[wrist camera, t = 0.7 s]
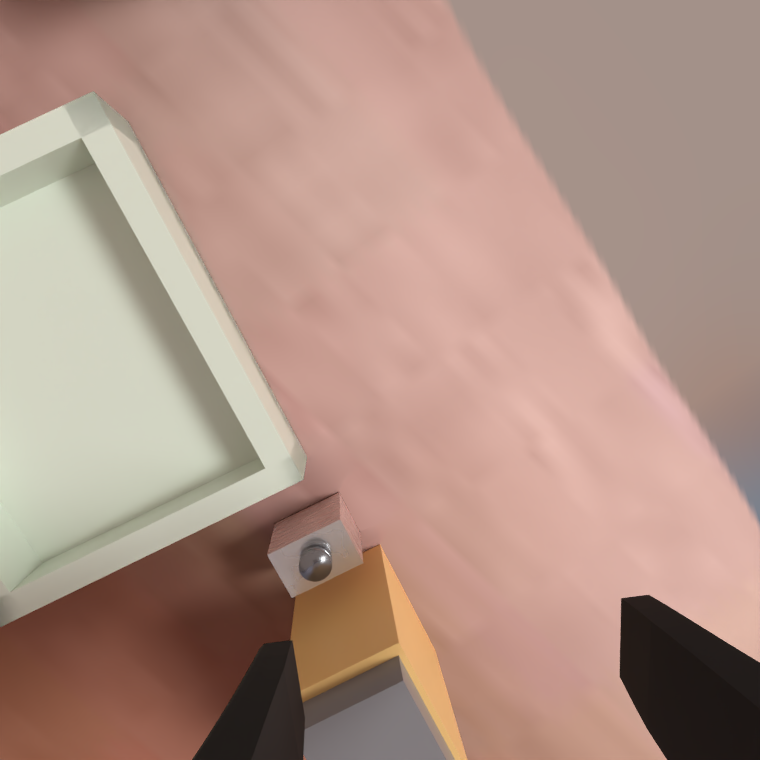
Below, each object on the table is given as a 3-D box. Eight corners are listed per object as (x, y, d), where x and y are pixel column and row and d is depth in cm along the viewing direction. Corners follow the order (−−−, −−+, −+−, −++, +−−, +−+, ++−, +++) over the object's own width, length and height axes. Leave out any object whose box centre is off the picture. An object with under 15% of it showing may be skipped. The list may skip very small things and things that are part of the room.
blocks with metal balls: (394, 733, 22) (404, 800, 19) (275, 523, 20) (265, 562, 17) (451, 705, 22) (469, 767, 19) (339, 492, 20) (340, 525, 17)
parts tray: (42, 585, 19) (0, 626, 17) (-182, 267, 17) (-271, 261, 14) (307, 457, 19) (303, 479, 17) (128, 121, 17) (92, 91, 14)
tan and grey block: (357, 688, 22) (368, 869, 15) (297, 584, 20) (279, 728, 14) (435, 650, 22) (482, 812, 15) (380, 544, 21) (403, 667, 14)
